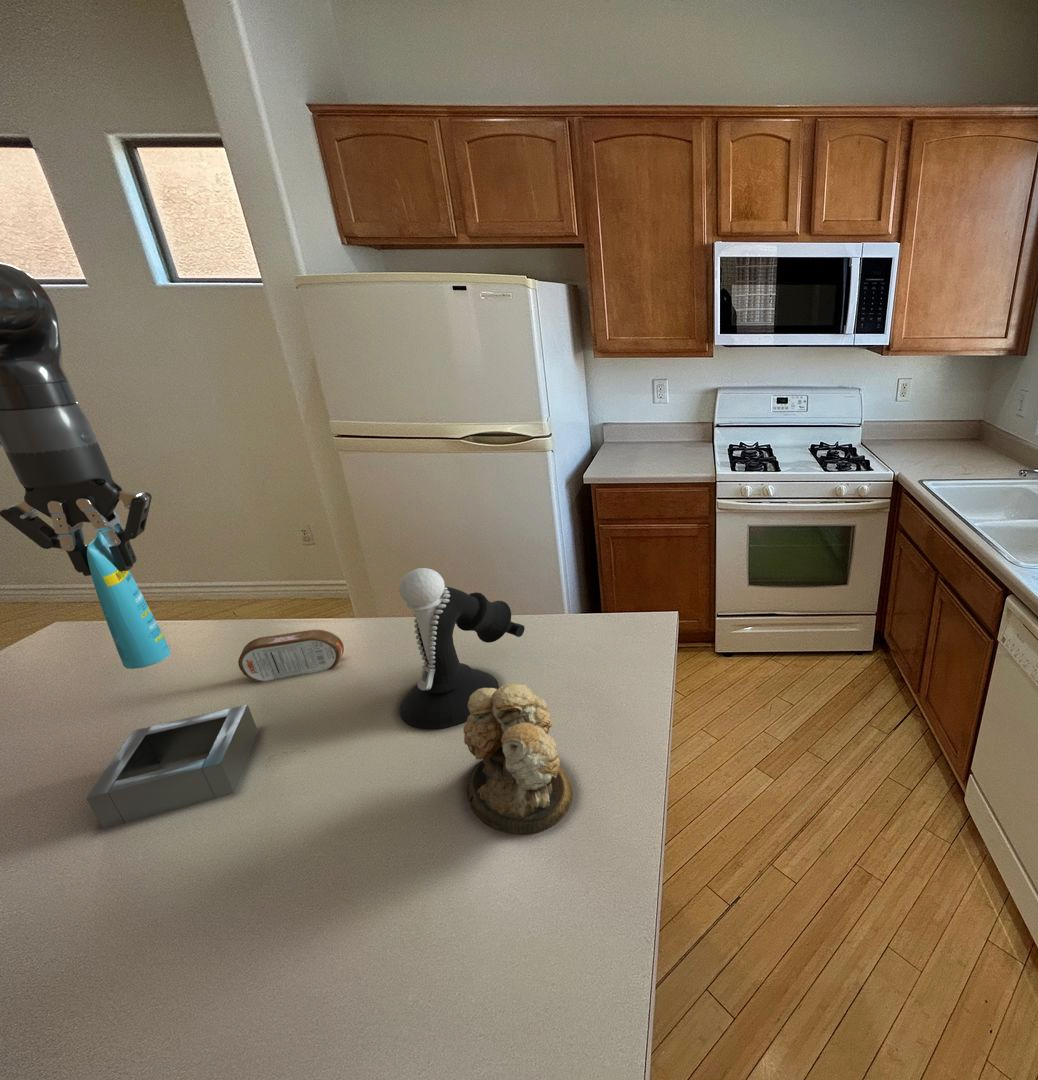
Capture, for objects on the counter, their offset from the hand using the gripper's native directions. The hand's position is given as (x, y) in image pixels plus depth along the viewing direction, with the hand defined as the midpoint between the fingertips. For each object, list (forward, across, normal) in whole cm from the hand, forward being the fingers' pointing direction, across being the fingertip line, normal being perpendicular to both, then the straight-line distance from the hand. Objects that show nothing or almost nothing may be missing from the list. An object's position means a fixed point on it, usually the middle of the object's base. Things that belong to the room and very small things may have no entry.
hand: (109, 570), depth 74 cm
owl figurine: (+29, -45, +32) cm, 62 cm away
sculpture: (+29, -41, +5) cm, 50 cm away
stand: (+29, -4, +10) cm, 31 cm away
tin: (+29, -12, -12) cm, 33 cm away
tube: (+14, 0, 0) cm, 14 cm away
